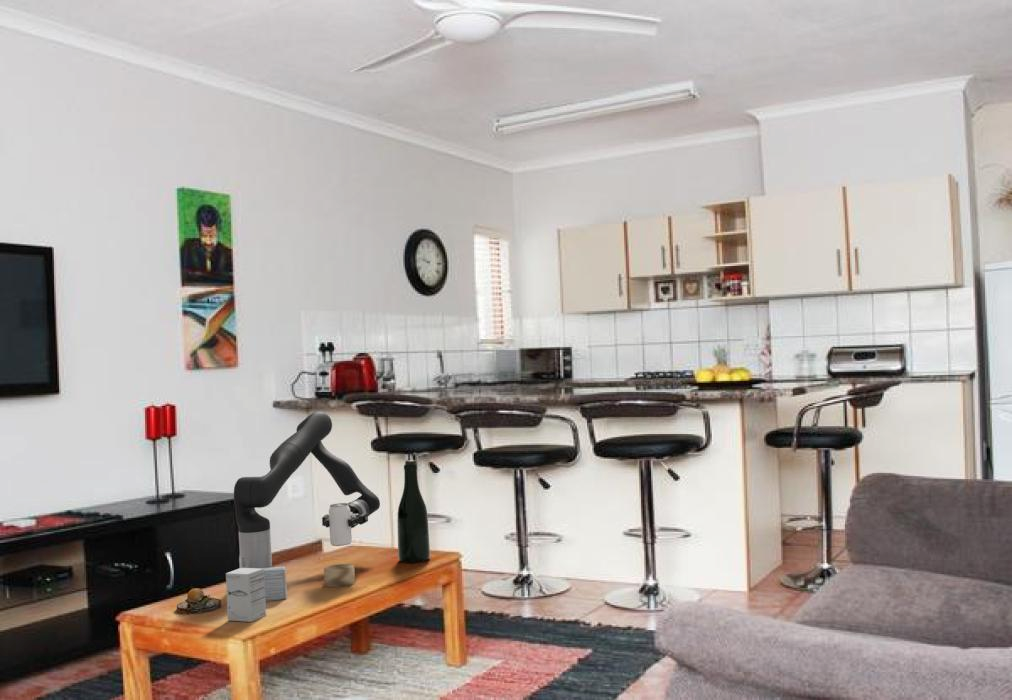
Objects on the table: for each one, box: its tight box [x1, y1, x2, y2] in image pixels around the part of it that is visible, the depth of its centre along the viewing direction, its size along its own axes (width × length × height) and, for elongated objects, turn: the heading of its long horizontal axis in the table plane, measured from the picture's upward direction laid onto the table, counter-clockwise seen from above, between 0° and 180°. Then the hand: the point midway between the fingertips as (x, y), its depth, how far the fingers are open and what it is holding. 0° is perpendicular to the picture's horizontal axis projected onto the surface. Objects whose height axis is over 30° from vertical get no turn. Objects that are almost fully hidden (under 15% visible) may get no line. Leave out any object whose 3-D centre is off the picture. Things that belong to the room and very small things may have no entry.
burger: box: [176, 585, 222, 615], centre depth 267 cm, size 12×12×8 cm
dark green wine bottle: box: [396, 459, 431, 564], centre depth 317 cm, size 10×10×33 cm
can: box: [328, 502, 353, 547], centre depth 292 cm, size 6×6×12 cm
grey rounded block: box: [323, 563, 356, 588], centre depth 288 cm, size 9×9×5 cm
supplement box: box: [225, 567, 267, 623], centre depth 253 cm, size 7×7×13 cm
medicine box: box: [261, 566, 288, 602], centre depth 273 cm, size 8×4×9 cm, turn 100°
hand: (338, 523), depth 290 cm, fingers closed on can, 6 cm apart
